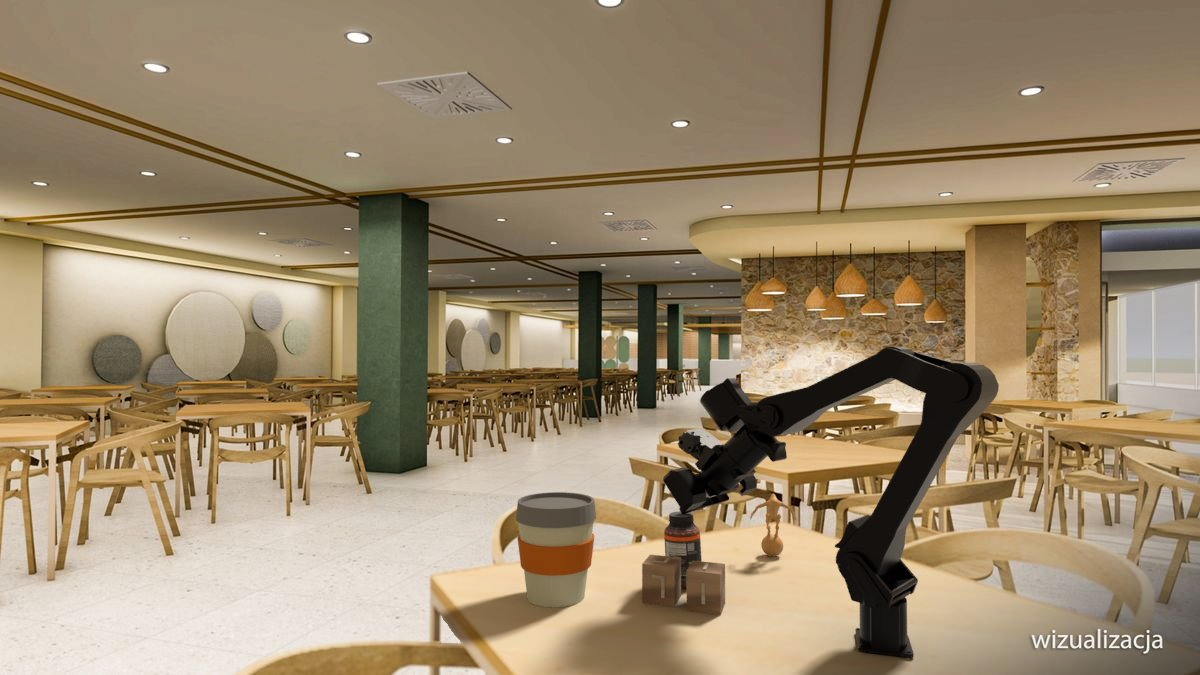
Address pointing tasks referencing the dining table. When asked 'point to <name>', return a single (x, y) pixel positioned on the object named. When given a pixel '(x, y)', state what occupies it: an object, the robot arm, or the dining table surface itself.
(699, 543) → the supplement bottle
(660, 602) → the block seven
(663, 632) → the dining table surface
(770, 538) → the figurine
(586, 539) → the reusable coffee cup
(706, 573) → the block one
